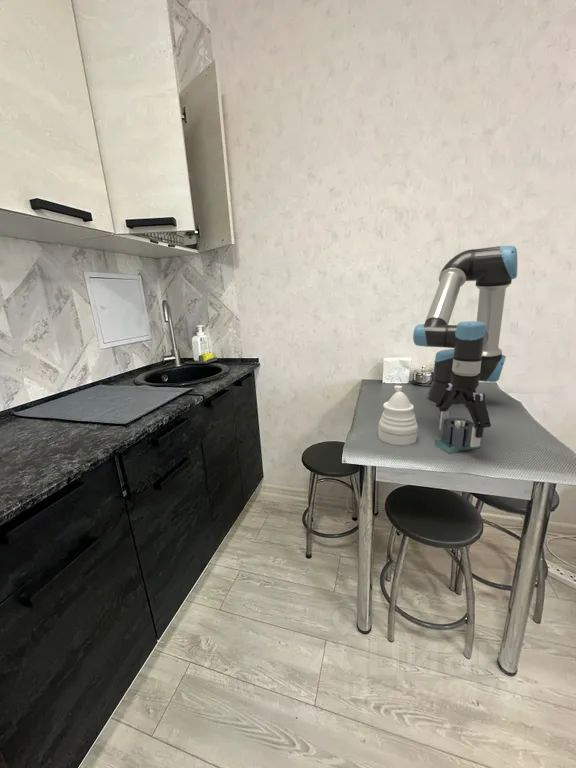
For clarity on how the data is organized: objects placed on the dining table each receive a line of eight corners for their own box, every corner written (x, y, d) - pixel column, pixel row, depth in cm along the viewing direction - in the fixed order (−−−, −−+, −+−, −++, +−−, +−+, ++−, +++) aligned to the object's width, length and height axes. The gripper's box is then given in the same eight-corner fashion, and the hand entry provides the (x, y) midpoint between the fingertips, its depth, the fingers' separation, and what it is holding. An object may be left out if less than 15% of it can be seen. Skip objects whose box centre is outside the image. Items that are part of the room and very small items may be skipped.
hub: (458, 433, 107) (460, 416, 105) (480, 444, 99) (482, 426, 97) (436, 436, 105) (437, 420, 103) (456, 448, 97) (458, 430, 95)
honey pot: (374, 429, 117) (376, 383, 112) (409, 429, 117) (412, 382, 112) (383, 445, 105) (386, 394, 100) (422, 444, 104) (427, 393, 99)
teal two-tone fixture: (464, 439, 107) (467, 414, 104) (480, 447, 101) (483, 421, 98) (434, 444, 104) (436, 419, 102) (448, 453, 98) (451, 426, 96)
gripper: (427, 366, 107) (423, 424, 112) (490, 384, 83) (480, 456, 89) (446, 364, 108) (441, 421, 114) (512, 381, 85) (501, 452, 91)
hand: (458, 437), depth 102 cm, fingers open, 13 cm apart
